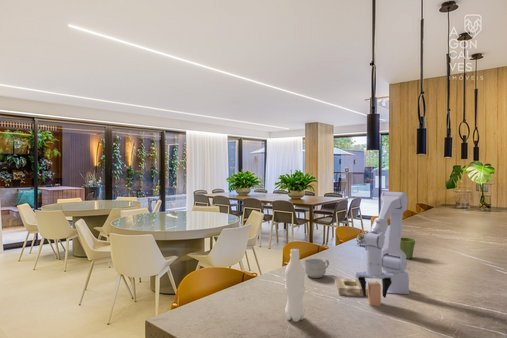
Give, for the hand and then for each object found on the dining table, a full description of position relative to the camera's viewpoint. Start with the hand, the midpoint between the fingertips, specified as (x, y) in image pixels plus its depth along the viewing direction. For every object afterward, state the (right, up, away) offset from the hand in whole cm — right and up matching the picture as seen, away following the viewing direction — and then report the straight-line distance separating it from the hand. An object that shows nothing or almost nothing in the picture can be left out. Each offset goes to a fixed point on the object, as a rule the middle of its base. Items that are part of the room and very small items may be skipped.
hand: (374, 296), depth 129 cm
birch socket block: (-5, -3, +14) cm, 15 cm away
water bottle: (-34, -3, -13) cm, 36 cm away
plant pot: (+44, -3, +66) cm, 80 cm away
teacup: (-16, -3, +33) cm, 37 cm away
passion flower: (+30, -3, +97) cm, 102 cm away
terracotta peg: (0, -3, 0) cm, 3 cm away
